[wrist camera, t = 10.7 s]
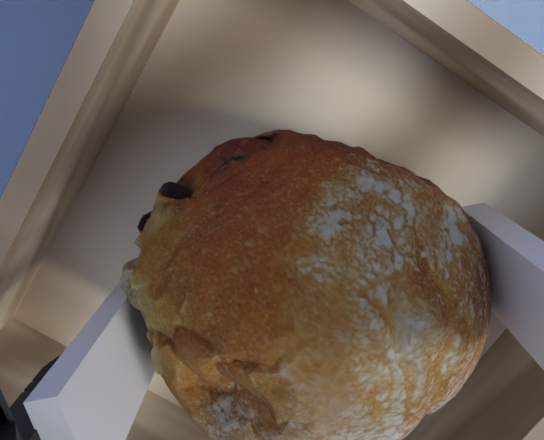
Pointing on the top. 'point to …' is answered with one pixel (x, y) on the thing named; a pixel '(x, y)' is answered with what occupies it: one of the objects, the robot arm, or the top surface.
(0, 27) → the top surface
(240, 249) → the bread roll
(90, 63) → the wooden tray
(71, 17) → the top surface
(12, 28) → the top surface
